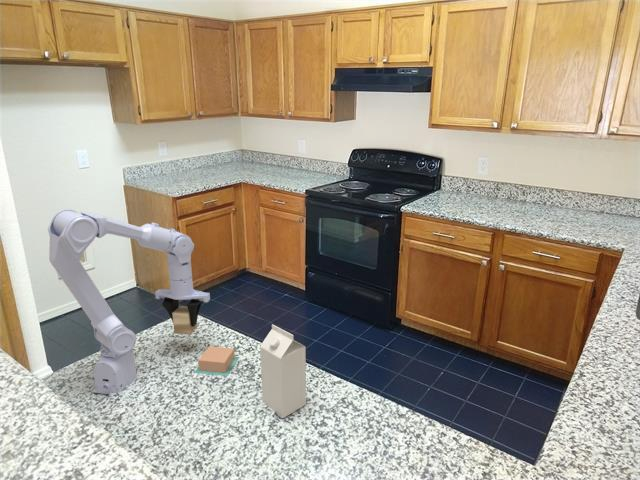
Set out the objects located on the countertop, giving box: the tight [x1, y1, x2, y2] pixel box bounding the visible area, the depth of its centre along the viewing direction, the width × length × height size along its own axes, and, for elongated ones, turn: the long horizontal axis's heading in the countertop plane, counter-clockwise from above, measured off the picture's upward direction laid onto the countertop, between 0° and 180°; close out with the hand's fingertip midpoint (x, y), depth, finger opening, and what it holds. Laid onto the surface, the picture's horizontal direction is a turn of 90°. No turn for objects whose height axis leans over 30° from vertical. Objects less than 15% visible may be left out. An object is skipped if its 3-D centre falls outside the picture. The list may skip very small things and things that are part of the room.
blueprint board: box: [193, 356, 240, 377], centre depth 118 cm, size 14×12×1 cm
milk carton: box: [259, 324, 307, 419], centre depth 100 cm, size 7×7×19 cm
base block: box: [197, 346, 236, 373], centre depth 117 cm, size 7×7×3 cm
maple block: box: [172, 305, 198, 335], centre depth 122 cm, size 4×4×6 cm
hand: (185, 324), depth 122 cm, fingers closed on maple block, 4 cm apart
